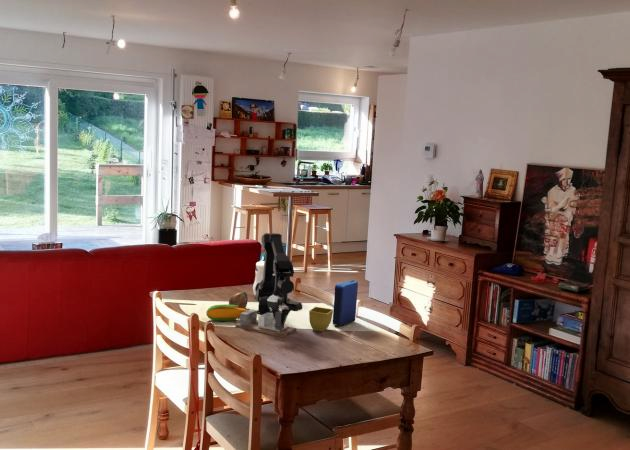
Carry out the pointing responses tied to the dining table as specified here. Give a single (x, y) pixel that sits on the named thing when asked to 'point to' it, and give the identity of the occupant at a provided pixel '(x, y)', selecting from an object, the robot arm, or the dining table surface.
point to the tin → (239, 300)
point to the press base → (251, 323)
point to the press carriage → (267, 321)
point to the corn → (224, 312)
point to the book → (345, 303)
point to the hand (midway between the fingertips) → (279, 322)
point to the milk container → (260, 276)
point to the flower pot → (320, 318)
